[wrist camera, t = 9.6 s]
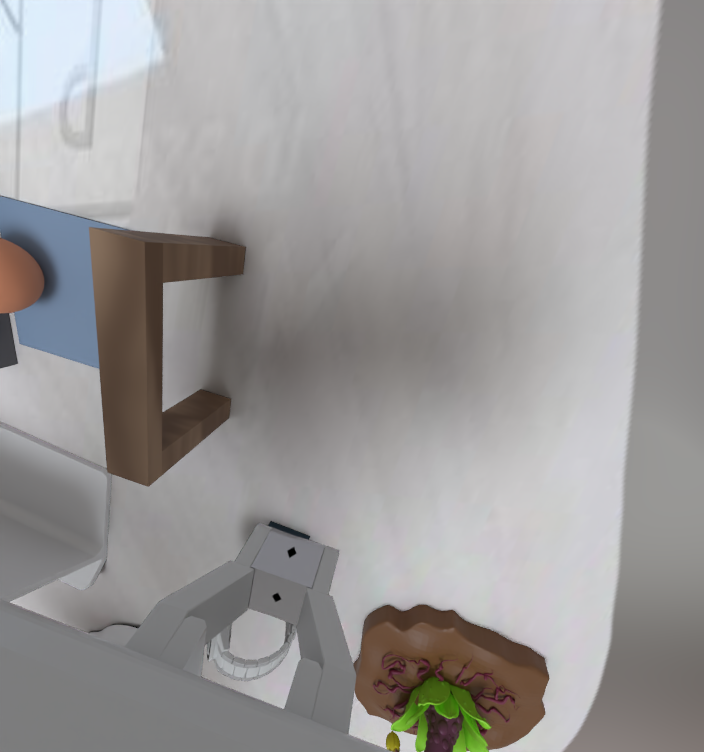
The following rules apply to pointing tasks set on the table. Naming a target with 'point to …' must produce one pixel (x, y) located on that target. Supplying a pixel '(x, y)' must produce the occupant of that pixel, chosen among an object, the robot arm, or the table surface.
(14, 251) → the ball
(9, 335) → the stopper
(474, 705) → the plant
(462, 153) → the table surface
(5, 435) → the tablet stand
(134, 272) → the bridge
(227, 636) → the watch
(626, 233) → the table surface
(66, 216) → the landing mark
